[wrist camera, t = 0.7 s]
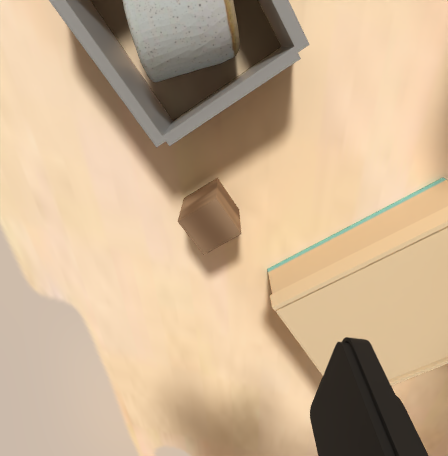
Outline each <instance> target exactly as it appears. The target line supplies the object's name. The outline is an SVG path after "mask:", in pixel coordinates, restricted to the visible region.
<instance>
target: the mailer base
mask: <svg viewBox="0 0 448 456" xmlns="http://www.w3.org/2000/svg"><path fill="white" fill-rule="evenodd" d="M447 206H448V180H446V179H445V178H441V179H439V180H437V181H435V182H433V183H432V184H430V185H428V186H426V187H424V188H422V189H420V190H418V191H416V192H414V193H412V194H410V195H409V196H407V197H405V198H403V199H401V200H399V201H397V202H395V203H393V204H391V205H389V206H387V207H386V208H384V209H382V210H380V211H378V212H376V213H374V214H372V215H370V216H368V217H366V218H364V219H363V220H361V221H359V222H357V223H355V224H353V225H351V226H349V227H347V228H345V229H343V230H341V231H340V232H338V233H336V234H334V235H332V236H330V237H328V238H326V239H324V240H322V241H320V242H318V243H317V244H315V245H313V246H311V247H309V248H307V249H305V250H303V251H301V252H299V253H297V254H295V255H294V256H292V257H290V258H288V259H286V260H284V261H282V262H280V263H278V264H276V265H274V266H272V267H271V268H269V269H267V270H268V275H269V280H270V285H271V290H272V294H273V293H275V292H277V291H279V290H281V289H283V288H285V287H287V286H289V285H291V284H293V283H295V282H297V281H299V280H301V279H303V278H305V277H307V276H309V275H311V274H313V273H315V272H317V271H319V270H321V269H323V268H325V267H327V266H329V265H331V264H333V263H335V262H337V261H339V260H341V259H343V258H345V257H347V256H349V255H351V254H353V253H355V252H357V251H359V250H361V249H363V248H365V247H367V246H369V245H371V244H373V243H375V242H377V241H379V240H381V239H383V238H385V237H387V236H389V235H391V234H393V233H395V232H397V231H399V230H401V229H403V228H405V227H407V226H409V225H411V224H413V223H415V222H417V221H419V220H421V219H423V218H425V217H427V216H429V215H431V214H433V213H435V212H437V211H439V210H441V209H443V208H445V207H447Z"/></svg>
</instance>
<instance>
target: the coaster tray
mask: <svg viewBox="0 0 448 456" xmlns="http://www.w3.org/2000/svg"><path fill="white" fill-rule="evenodd" d="M49 1H50V2H51V4H52V5H53V6H54V8H55V9H56V11H57V12H58V13H59V15H60V16H61V17H62V19H63V20H64V21H65V23H66V24H67V26H68V27H69V28H70V30H71V31H72V32H73V34H74V35H75V37H76V38H77V39H78V41H79V42H80V43H81V45H82V46H83V48H84V49H85V50H86V52H87V53H88V54H89V56H90V57H91V58H92V60H93V61H94V63H95V64H96V65H97V67H98V68H99V69H100V71H101V72H102V74H103V75H104V76H105V78H106V79H107V80H108V82H109V83H110V85H111V86H112V87H113V89H114V90H115V91H116V93H117V94H118V95H119V97H120V98H121V100H122V101H123V102H124V104H125V105H126V106H127V108H128V109H129V111H130V112H131V113H132V115H133V116H134V117H135V119H136V120H137V121H138V123H139V124H140V126H141V127H142V128H143V130H144V131H145V132H146V134H147V135H148V137H149V138H150V139H151V141H152V142H153V143H154V145H155V146H156V148H157V147H158V146H160V145H161V144H163V143H164V142H167V143H168V145H169V146H171V145H172V144H174V143H175V142H177V141H178V140H180V139H181V138H183V137H184V136H186V135H187V134H189V133H190V132H192V131H193V130H195V129H196V128H198V127H199V126H201V125H202V124H204V123H205V122H207V121H208V120H210V119H211V118H213V117H214V116H215V115H217V114H218V113H220V112H221V111H223V110H224V109H226V108H227V107H229V106H230V105H232V104H233V103H235V102H236V101H238V100H239V99H241V98H242V97H244V96H245V95H247V94H248V93H250V92H251V91H253V90H254V89H256V88H257V87H259V86H260V85H262V84H263V83H265V82H266V81H268V80H269V79H271V78H272V77H274V76H275V75H277V74H278V73H280V72H281V71H283V70H284V69H286V68H287V67H289V66H290V65H292V64H293V63H295V62H296V61H298V60H299V59H301V58H300V56H299V54H298V52H299V51H301V50H302V49H304V48H305V47H307V46H308V45H309V43H308V41H307V38H306V36H305V34H304V32H303V30H302V28H301V26H300V24H299V22H298V19H297V17H296V15H295V13H294V11H293V9H292V7H291V5H290V3H289V1H288V0H258V2H259V4H260V6H261V8H262V10H263V12H264V14H265V15H266V17H267V19H268V21H269V23H270V25H271V27H272V29H273V31H274V33H275V35H276V37H277V39H278V41H279V43H280V45H281V47H280V48H279V49H277V50H276V51H274V52H273V53H271V54H270V55H268V56H267V57H265V58H264V59H263V60H261V61H260V62H258V63H257V64H255V65H254V66H252V67H251V68H249V69H248V70H247V71H245V72H244V73H242V74H241V75H239V76H238V77H236V78H235V79H233V80H232V81H231V82H229V83H228V84H226V85H225V86H223V87H222V88H220V89H219V90H217V91H216V92H214V93H213V94H212V95H210V96H209V97H207V98H206V99H204V100H203V101H201V102H200V103H198V104H197V105H196V106H194V107H193V108H191V109H190V110H188V111H187V112H185V113H184V114H182V115H181V116H180V117H178V118H177V119H175V120H174V121H173V120H172V119H171V118H170V116H169V115H168V113H167V112H166V110H165V109H164V107H163V106H162V104H161V103H160V101H159V100H158V99H157V97H156V96H155V94H154V93H153V91H152V90H151V88H150V87H149V85H148V84H147V83H146V81H145V80H144V78H143V77H142V75H141V74H140V72H139V71H138V69H137V68H136V67H135V65H134V64H133V62H132V61H131V59H130V58H129V56H128V55H127V53H126V52H125V50H124V49H123V48H122V46H121V45H120V43H119V42H118V40H117V39H116V37H115V36H114V34H113V33H112V32H111V30H110V29H109V27H108V26H107V24H106V23H105V21H104V20H103V18H102V17H101V16H100V14H99V13H98V11H97V10H96V8H95V7H94V5H93V4H92V2H91V1H90V0H49Z"/></svg>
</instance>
